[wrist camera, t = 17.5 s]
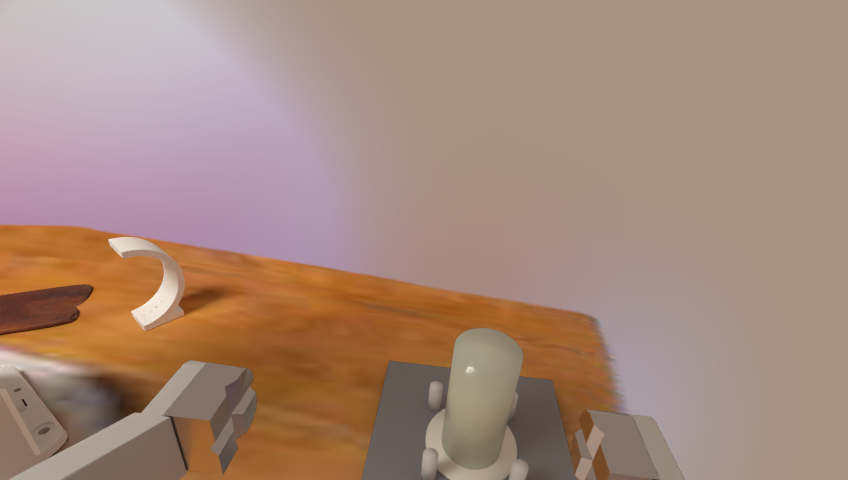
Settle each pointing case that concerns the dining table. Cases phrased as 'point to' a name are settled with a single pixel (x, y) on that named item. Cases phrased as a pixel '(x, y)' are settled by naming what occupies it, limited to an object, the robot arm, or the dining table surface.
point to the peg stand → (423, 423)
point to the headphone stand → (172, 287)
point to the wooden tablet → (41, 308)
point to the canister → (480, 396)
